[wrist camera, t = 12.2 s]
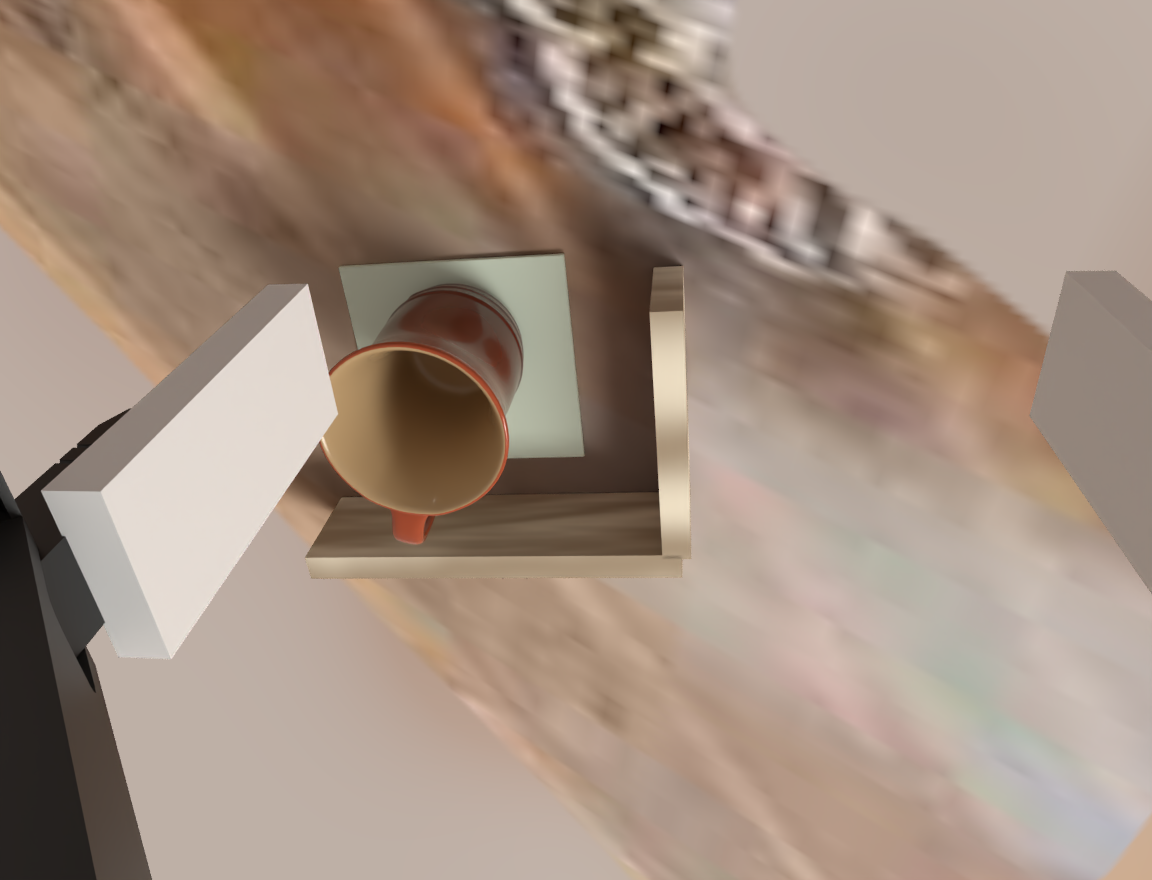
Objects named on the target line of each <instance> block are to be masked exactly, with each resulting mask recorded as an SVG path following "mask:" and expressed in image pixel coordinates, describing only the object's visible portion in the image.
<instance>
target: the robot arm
mask: <svg viewBox="0 0 1152 880" xmlns="http://www.w3.org/2000/svg"><path fill="white" fill-rule="evenodd" d="M337 415H338V411H337V407H336V403H335V399H334V394H333V390H332V386H331V381H330V377H329V373H328V368H327V364H326V360H325V356H324V351H323V347H322V343H321V338H320V334H319V330H318V325H317V321H316V317H315V313H314V308H313V304H312V300H311V295H310V291H309V287H308V284H268V285H267V286H266V287H265V288H264V289H263V290H261V291H260V292H259V293H258V294H257V295H256V296H255V297H254V298H253V299H252V300H250V301H249V302H248V303H247V304H246V305H245V306H244V307H243V308H242V309H240V310H239V311H238V312H237V313H236V314H235V315H234V316H233V317H232V318H231V319H229V320H228V321H227V322H226V323H225V324H224V325H223V326H222V327H221V328H220V329H218V330H217V331H216V332H215V333H214V334H213V335H212V336H211V337H210V338H209V339H207V340H206V341H205V342H204V343H203V344H202V345H201V346H200V347H199V348H198V349H196V350H195V351H194V352H193V353H192V354H191V355H190V356H189V357H188V358H187V359H185V360H184V361H183V362H182V363H181V364H180V365H179V366H178V367H177V368H176V369H174V370H173V371H172V372H171V373H170V374H169V375H168V376H167V377H166V378H165V379H163V380H162V381H161V382H160V383H159V384H158V385H157V386H156V387H155V388H154V389H152V390H151V391H150V392H149V393H148V394H147V395H146V396H145V397H144V398H142V399H141V400H140V401H139V402H138V403H137V404H136V405H135V406H134V407H133V408H131V409H128V410H126V411H124V412H122V413H120V414H118V415H117V416H115V417H113V418H111V419H109V420H107V421H105V422H103V423H102V424H100V425H98V426H97V427H96V428H95V429H94V430H92V431H91V432H90V433H89V434H88V435H87V436H86V437H85V438H83V439H82V440H81V441H80V442H79V443H78V444H77V448H72V449H71V450H70V451H69V452H68V453H67V454H65V455H64V456H63V457H62V458H61V459H60V463H59V464H58V463H57V464H56V463H55V464H54V465H53V466H52V467H51V468H49V470H47V471H46V472H45V473H44V474H43V475H42V476H41V477H39V478H38V479H37V480H36V481H35V482H34V483H33V484H31V485H30V486H29V487H28V488H27V489H26V490H25V491H24V492H22V493H21V494H20V495H19V496H18V497H17V498H16V499H14V498H13V496H12V494H11V492H10V490H9V488H8V486H7V484H6V482H5V480H4V477H3V475H2V473H1V471H0V880H152V878H151V874H150V870H149V866H148V862H147V859H146V855H145V852H144V847H143V844H142V840H141V836H140V832H139V829H138V825H137V821H136V817H135V814H134V810H133V806H132V802H131V799H130V795H129V791H128V787H127V783H126V780H125V776H124V772H123V768H122V764H121V760H120V757H119V753H118V750H117V746H116V741H115V738H114V734H113V730H112V726H111V723H110V719H109V715H108V711H107V708H106V704H105V700H104V696H103V692H102V689H101V685H100V681H99V677H98V674H97V670H96V666H95V664H94V662H93V659H92V657H91V655H90V653H89V651H88V649H87V647H86V645H87V644H88V643H89V642H90V640H91V639H92V638H93V637H94V635H95V634H96V633H97V632H98V630H99V629H100V628H101V627H102V626H103V625H104V627H105V629H106V632H107V634H108V636H109V638H110V640H111V642H112V644H113V646H114V649H115V651H116V653H117V655H118V657H127V658H153V659H172V657H173V656H174V654H175V653H176V651H177V650H178V649H179V647H180V646H181V644H182V643H183V641H184V640H185V638H186V636H187V635H188V634H189V632H190V631H191V629H192V628H193V626H194V625H195V624H196V622H197V620H198V619H199V618H200V616H201V615H202V613H203V612H204V610H205V609H206V607H207V606H208V604H209V603H210V602H211V600H212V598H213V597H214V595H215V594H216V593H217V591H218V590H219V588H220V586H221V585H222V584H223V582H224V581H225V579H226V578H227V577H228V575H229V574H230V572H231V571H232V569H233V568H234V566H235V565H236V563H237V562H238V560H239V559H240V557H241V556H242V554H243V553H244V551H245V550H246V549H247V547H248V546H249V544H250V543H251V541H252V540H253V538H254V537H255V535H256V534H257V532H258V531H259V529H260V528H261V527H262V525H263V523H264V522H265V521H266V519H267V518H268V516H269V515H270V513H271V512H272V510H273V509H274V507H275V506H276V504H277V503H278V502H279V500H280V499H281V497H282V496H283V494H284V493H285V491H286V490H287V488H288V487H289V485H290V484H291V482H292V481H293V480H294V478H295V477H296V475H297V474H298V472H299V471H300V469H301V468H302V466H303V465H304V463H305V462H306V460H307V459H308V457H309V456H310V455H311V453H312V452H313V450H314V449H315V447H316V446H317V444H318V443H319V441H320V440H321V438H322V437H323V435H324V434H325V432H326V431H327V430H328V428H329V427H330V425H331V424H332V422H333V421H334V419H335V418H336V416H337ZM1030 417H1031V419H1032V420H1033V422H1034V423H1035V424H1036V426H1037V427H1038V429H1039V430H1040V432H1041V433H1042V435H1043V436H1044V438H1045V439H1046V441H1047V442H1048V443H1049V445H1050V446H1051V448H1052V449H1053V451H1054V452H1055V454H1056V455H1057V457H1058V458H1059V459H1060V461H1061V462H1062V464H1063V465H1064V467H1065V468H1066V470H1067V471H1068V473H1069V474H1070V476H1071V477H1072V478H1073V480H1074V481H1075V483H1076V484H1077V486H1078V487H1079V489H1080V490H1081V492H1082V493H1083V494H1084V496H1085V497H1086V499H1087V500H1088V502H1089V503H1090V505H1091V506H1092V508H1093V509H1094V511H1095V512H1096V513H1097V515H1098V516H1099V518H1100V519H1101V521H1102V522H1103V524H1104V525H1105V527H1106V528H1107V530H1108V531H1109V532H1110V534H1111V535H1112V537H1113V538H1114V540H1115V541H1116V543H1117V544H1118V546H1119V547H1120V548H1121V550H1122V551H1123V553H1124V554H1125V556H1126V557H1127V559H1128V560H1129V562H1130V563H1131V565H1132V566H1133V567H1134V569H1135V570H1136V572H1137V573H1138V575H1139V576H1140V578H1141V579H1142V581H1143V582H1144V583H1145V585H1146V586H1147V588H1148V589H1149V591H1150V592H1151V594H1152V301H1151V300H1150V299H1149V298H1148V297H1146V296H1145V295H1144V294H1143V293H1142V292H1140V291H1139V290H1138V289H1137V288H1136V287H1134V286H1133V285H1132V284H1131V283H1130V282H1128V281H1127V280H1126V279H1125V278H1124V277H1122V276H1121V275H1120V274H1119V273H1118V272H1117V271H1071V272H1070V271H1067V272H1066V274H1065V278H1064V282H1063V286H1062V290H1061V294H1060V298H1059V302H1058V306H1057V310H1056V314H1055V318H1054V321H1053V325H1052V329H1051V333H1050V337H1049V341H1048V345H1047V349H1046V353H1045V357H1044V361H1043V365H1042V369H1041V373H1040V377H1039V381H1038V385H1037V389H1036V393H1035V397H1034V400H1033V404H1032V408H1031V412H1030Z"/></svg>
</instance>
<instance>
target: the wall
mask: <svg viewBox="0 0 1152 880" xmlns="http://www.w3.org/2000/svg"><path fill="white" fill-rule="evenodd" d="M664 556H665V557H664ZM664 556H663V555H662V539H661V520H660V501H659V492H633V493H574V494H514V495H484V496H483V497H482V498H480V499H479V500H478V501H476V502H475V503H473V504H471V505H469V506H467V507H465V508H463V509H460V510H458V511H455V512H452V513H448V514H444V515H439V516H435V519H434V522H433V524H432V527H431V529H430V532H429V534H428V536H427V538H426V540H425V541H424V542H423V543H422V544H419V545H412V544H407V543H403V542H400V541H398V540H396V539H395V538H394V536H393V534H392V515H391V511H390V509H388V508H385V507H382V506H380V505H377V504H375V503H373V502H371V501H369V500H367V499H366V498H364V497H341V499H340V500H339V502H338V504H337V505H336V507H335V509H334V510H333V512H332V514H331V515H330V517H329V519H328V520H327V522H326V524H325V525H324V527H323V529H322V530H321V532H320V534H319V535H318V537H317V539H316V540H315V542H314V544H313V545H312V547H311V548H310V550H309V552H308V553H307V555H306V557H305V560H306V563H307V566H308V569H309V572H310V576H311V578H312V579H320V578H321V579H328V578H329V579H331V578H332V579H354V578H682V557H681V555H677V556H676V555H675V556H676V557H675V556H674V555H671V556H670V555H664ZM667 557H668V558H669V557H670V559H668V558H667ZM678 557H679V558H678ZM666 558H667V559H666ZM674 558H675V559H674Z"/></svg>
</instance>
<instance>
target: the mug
mask: <svg viewBox="0 0 1152 880" xmlns="http://www.w3.org/2000/svg"><path fill="white" fill-rule="evenodd" d="M523 362H524V351H523V342H522V337H521V333H520V330H519V327H518V325H517V323H516V321H515V319H514V318H513V316H512V315H511V313H510V312H509V311H508V309H507V308H506V307H505V306H504V305H503V304H502V303H501V302H500V301H499V300H497V299H496V298H495V297H493V296H492V295H490V294H489V293H487V292H485V291H483V290H481V289H478V288H476V287H473V286H469V285H464V284H455V283H449V284H440V285H436V286H432V287H429V288H427V289H424V290H422V291H419V292H416V293H414V294H412V295H411V296H410V297H409V298H408V299H407V300H406V301H405V302H404V303H402V304H401V305H400V306H399V307H398V308H397V309H396V310H395V311H394V312H393V313H392V314H391V316H390V318H389V319H388V321H387V323H386V324H385V326H384V327H383V328H382V330H381V331H380V333H379V334H378V336H377V337H376V339H375V341H374V342H373V344H372V345H369V346H366V347H363V348H361V349H359V350H356V351H354V352H352V353H351V354H349V355H347V356H346V357H344V358H343V359H342V360H341V361H339V362H338V363H337V364H336V365H335V366H334V367H333V368H332V369H331V370H330V372H329V377H330V381H331V386H332V390H333V394H334V399H335V403H336V407H337V411H338V415H337V416H336V418H335V419H334V421H333V422H332V424H331V425H330V427H329V428H328V430H327V431H326V432H325V434H324V435H323V437H322V438H321V440H320V441H319V444H320V446H321V449H322V451H323V453H324V455H325V457H326V458H327V460H328V462H329V463H330V465H331V466H332V467H333V469H334V470H335V471H336V472H337V474H338V475H339V476H340V477H341V478H342V479H343V480H344V481H345V482H346V483H347V484H348V485H349V486H350V487H351V488H353V489H354V490H355V491H356V492H358V493H359V494H360V495H362V496H363V497H364V498H366V499H367V500H369V501H371V502H373V503H375V504H377V505H380V506H382V507H385V508H388V509H390V511H391V515H392V534H393V536H394V538H395V539H396V540H398V541H400V542H403V543H407V544H412V545H419V544H422V543H423V542H424V541H425V540H426V538H427V536H428V534H429V532H430V529H431V527H432V524H433V522H434V519H435V516H439V515H444V514H448V513H452V512H455V511H458V510H460V509H463V508H465V507H467V506H469V505H471V504H473V503H475V502H476V501H478V500H479V499H480V498H482V497H483V496H484V495H485V494H487V493H488V492H489V491H490V490H491V488H492V487H493V486H494V485H495V484H496V482H497V481H498V479H499V478H500V476H501V474H502V472H503V470H504V467H505V464H506V461H507V457H508V451H509V431H508V425H507V420H506V414H507V412H508V410H509V408H510V405H511V403H512V401H513V398H514V395H515V393H516V392H517V389H518V387H519V385H520V382H521V379H522V374H523Z"/></svg>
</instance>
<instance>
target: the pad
mask: <svg viewBox="0 0 1152 880" xmlns="http://www.w3.org/2000/svg"><path fill="white" fill-rule="evenodd" d="M339 272H340V277H341V281H342V285H343V289H344V293H345V297H346V301H347V306H348V310H349V314H350V318H351V322H352V326H353V331H354V335H355V339H356V343H357V347H358V350H359V349H361V348H363V347H366V346H369V345H372V344H373V342H374V341H375V339H376V337H377V336H378V334H379V333H380V331H381V330H382V328H383V327H384V326H385V324H386V323H387V321H388V319H389V318H390V316H391V314H392V313H393V312H394V311H395V310H396V309H397V308H398V307H399V306H400V305H401V304H402V303H404V302H405V301H406V300H407V299H408V298H409V297H410V296H411V295H412V294H414V293H416V292H419V291H422V290H424V289H427V288H429V287H432V286H436V285H440V284H449V283H455V284H464V285H469V286H473V287H476V288H478V289H481V290H483V291H485V292H487V293H489V294H490V295H492V296H493V297H495V298H496V299H497V300H499V301H500V302H501V303H502V304H503V305H504V306H505V307H506V308H507V309H508V311H509V312H510V313H511V315H512V316H513V318H514V319H515V321H516V323H517V325H518V327H519V330H520V333H521V337H522V342H523V351H524V362H523V374H522V379H521V382H520V385H519V387H518V389H517V392H516V393H515V395H514V398H513V401H512V403H511V405H510V408H509V410H508V412H507V414H506V420H507V425H508V431H509V451H508V457H507V458H546V457H584V455H585V452H584V442H583V432H582V423H581V413H580V403H579V393H578V383H577V374H576V364H575V354H574V344H573V335H572V325H571V315H570V305H569V295H568V286H567V276H566V266H565V256H564V253H561V254H543V255H525V256H508V257H490V258H472V259H454V260H437V261H419V262H401V263H384V264H366V265H348V266H340V267H339Z"/></svg>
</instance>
